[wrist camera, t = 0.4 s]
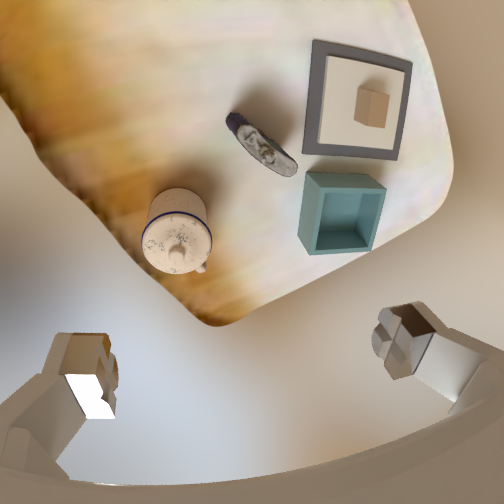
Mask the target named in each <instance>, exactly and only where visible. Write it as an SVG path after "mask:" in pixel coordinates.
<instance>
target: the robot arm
mask: <svg viewBox="0 0 504 504" xmlns="http://www.w3.org/2000/svg"><path fill="white" fill-rule="evenodd" d="M378 320H379V322H380V323H379V325H378V326H377V327H376V328H375V329H374V332H373V335H372V346H373V349H374V351H375V353H376V355H377V356H378V357H379V358H381V359H383V360H385V362H384V367H385V368H386V370H387V371H388V373H389V374H390V376H391V377H392V379H393V380H396V379H399V378H403V377H406V376H410V375H413V374H414V376H415V377H416V378H418V379H419V380H421V381H422V382H424V383H425V384H427V385H428V386H430V387H431V388H433V389H434V390H436V391H437V392H439V393H440V394H442V395H443V396H445V397H447V398H448V399H450V400H451V401H453V402H454V405H453V406H452V407H451V409H450V410H449V412H448V416H449V417H447V418H445V419H443V420H441V421H439V422H437V423H435V424H432V425H430V426H428V427H426V428H424V429H421V430H419V431H417V432H414V433H412V434H409V435H407V436H405V437H402V438H399V439H397V440H394V441H392V442H389V443H386V444H384V445H381V446H378V447H375V448H372V449H369V450H366V451H363V452H360V453H357V454H354V455H350V456H348V457H344V458H340V459H337V460H333V461H330V462H326V463H322V464H319V465H314V466H310V467H306V468H301V469H297V470H292V471H287V472H282V473H277V474H272V475H266V476H260V477H254V478H247V479H240V480H232V481H223V482H213V483H201V484H184V485H122V484H106V483H94V482H85V481H76V480H69V476H68V475H67V474H66V473H65V471H64V470H63V469H62V468H61V467H60V466H59V465H58V464H57V463H56V462H55V461H56V460H57V458H58V457H59V455H60V454H61V453H62V452H63V450H64V449H65V447H66V446H67V445H68V443H69V442H70V441H71V439H72V438H73V437H74V435H75V434H76V433H77V432H78V430H79V429H80V428H81V426H82V425H83V424H84V422H85V421H86V420H87V419H86V418H114V417H115V407H116V397H115V395H114V392H113V391H114V390H115V389H116V388H117V387H118V366H117V361H116V358H115V355H113V354H112V353H111V352H110V348H111V342H110V339H109V336H108V335H107V334H106V333H57V334H56V335H55V337H54V340H53V342H52V345H51V348H50V350H49V353H48V356H47V359H46V361H45V364H44V367H43V370H42V373H41V374H36V375H35V376H34V377H32V378H31V379H30V380H29V381H28V382H26V383H25V384H24V385H23V386H22V387H20V388H19V389H18V390H17V391H16V392H14V393H13V394H12V395H11V396H10V397H9V398H8V399H7V400H5V401H4V402H3V403H2V404H1V405H0V504H504V351H502V350H500V349H498V348H496V347H493V346H491V345H489V344H486V343H484V342H482V341H480V340H478V339H475V338H473V337H471V336H469V335H466V334H464V333H462V332H459V331H457V330H455V329H453V328H449V329H448V328H447V327H446V326H445V325H444V324H443V322H442V321H441V320H440V319H438V317H437V316H436V315H435V314H434V313H433V312H432V311H431V310H430V309H429V308H428V307H427V306H426V305H425V304H424V303H423V302H420V301H417V302H412V303H408V304H403V305H398V306H393V307H387V308H383V309H382V310H381V311H380V313H379V316H378Z"/></svg>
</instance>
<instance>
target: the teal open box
mask: <svg viewBox="0 0 504 504" xmlns="http://www.w3.org/2000/svg"><path fill="white" fill-rule="evenodd" d="M386 191H387V189H386V188H385V187H383V186H382V185H381V184H380V183H378V182H377V181H376V180H374V179H373V178H372V177H370V176H369V175H366V174H345V173H314V172H306V176H305V184H304V191H303V199H302V206H301V214H300V221H299V228H298V237H299V239H300V240H301V242H302V244H303V245H304V247H305V249H306V251H307V252H308V254H309V255H322V254H337V253H351V252H366V251H371V249H372V246H373V242H374V238H375V235H376V231H377V227H378V223H379V220H380V216H381V212H382V208H383V204H384V199H385V195H386Z"/></svg>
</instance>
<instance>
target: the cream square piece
mask: <svg viewBox="0 0 504 504" xmlns="http://www.w3.org/2000/svg"><path fill="white" fill-rule="evenodd" d="M404 74H405V73H404V72H401V71H397V70H393V69H389V68H385V67H381V66H377V65H373V64H368V63H364V62H359V61H354V60H349V59H344V58H338V57H332V56H326V65H325V76H324V86H323V96H322V105H321V114H320V123H319V132H318V140H317V142H318V143H322V144H337V145H350V146H361V147H371V148H381V149H389V150H393V145H394V140H395V134H396V128H397V122H398V116H399V110H400V103H401V97H402V89H403V82H404Z"/></svg>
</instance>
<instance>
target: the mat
mask: <svg viewBox="0 0 504 504" xmlns="http://www.w3.org/2000/svg"><path fill="white" fill-rule="evenodd" d="M326 56H332V57H338V58H344V59H349V60H354V61H359V62H364V63H368V64H373V65H377V66H381V67H385V68H389V69H393V70H397V71H401V72H404V73H405V74H404V82H403V89H402V97H401V103H400V110H399V116H398V122H397V128H396V134H395V140H394V145H393V150H389V149H381V148H371V147H361V146H350V145H337V144H322V143H318V142H317V140H318V132H319V123H320V114H321V105H322V96H323V86H324V76H325V65H326ZM412 65H413V63H410V62H407V61H403V60H400V59H396V58H393V57H389V56H386V55H382V54H378V53H374V52H370V51H366V50H361V49H357V48H352V47H347V46H342V45H337V44H332V43H326V42H320V41H312V54H311V66H310V77H309V88H308V99H307V109H306V119H305V129H304V138H303V147H302V154H309V155H331V156H347V157H361V158H373V159H384V160H395V161H397V159H398V154H399V149H400V144H401V139H402V133H403V128H404V122H405V116H406V110H407V103H408V96H409V89H410V82H411V74H412Z"/></svg>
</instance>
